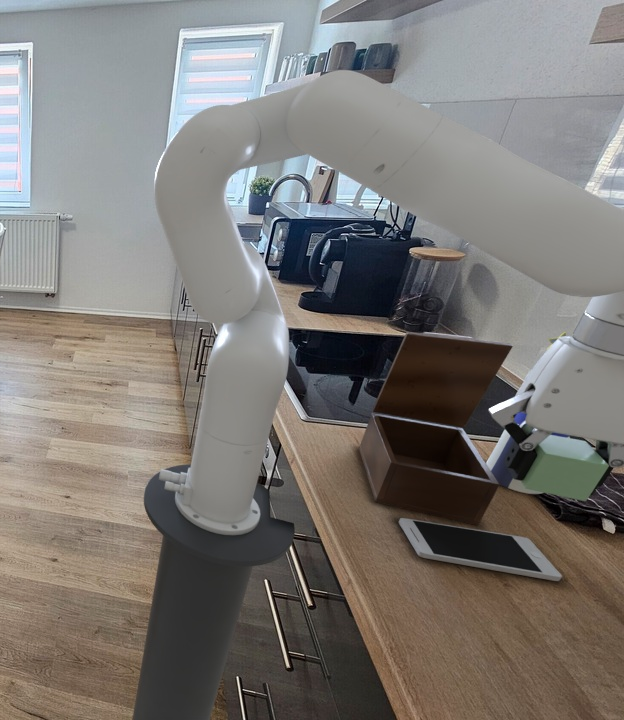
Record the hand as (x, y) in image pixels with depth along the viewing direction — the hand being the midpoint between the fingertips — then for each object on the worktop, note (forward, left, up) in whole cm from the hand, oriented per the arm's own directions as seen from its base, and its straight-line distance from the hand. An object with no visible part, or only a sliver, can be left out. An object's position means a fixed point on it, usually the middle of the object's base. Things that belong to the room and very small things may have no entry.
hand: (546, 478), depth 58 cm
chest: (-4, +20, -17) cm, 27 cm away
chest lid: (-4, +26, -1) cm, 26 cm away
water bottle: (+11, +28, -17) cm, 35 cm away
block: (0, 0, 0) cm, 0 cm away
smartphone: (0, +6, -17) cm, 18 cm away
